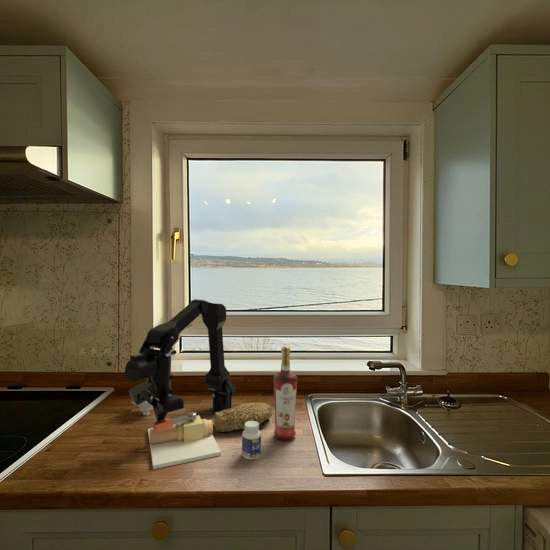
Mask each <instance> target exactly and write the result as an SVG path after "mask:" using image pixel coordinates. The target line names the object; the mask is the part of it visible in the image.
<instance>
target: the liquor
mask: <svg viewBox="0 0 550 550" xmlns="http://www.w3.org/2000/svg"><path fill="white" fill-rule="evenodd" d="M280 350H281V365H280V366H281V367H280V371H279V372H276V373H275V374H274V375H273V395H274V396H273V398H274V422H275V423H274V424H275V426H274V431H273V434H274V436H276V437H277V438H278V439H279V440H281V441H290V440H291V439H292V438H294V437H295V436H296V435H297V432H296V430H295V427H296V425H295V423H296V422H295V421H296V404H297V403H296V401H297V389H298V388H297V387H298V386H297V385H298V376H297V375H296V373H294V372H292V371H291V363H290V355H291V347H290V346H287V345H285V346H281V348H280Z"/></svg>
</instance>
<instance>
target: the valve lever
mask: <svg viewBox="0 0 550 550" xmlns="http://www.w3.org/2000/svg"><path fill="white" fill-rule="evenodd" d="M196 416H197V412H196V411H189V412H187V414H185V415H181V416H178V417H174V418H172V417H165V418H164V419H163V420H159V421H157V420H156V421H153V422H152V428H153V429H154V430H155V431H156V432H157V431H161V430H164V429H167V428H171V427H173V425H175V424H177V423H181V422H184V421H187V420H189V421H193V420H196Z"/></svg>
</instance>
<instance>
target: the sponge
mask: <svg viewBox="0 0 550 550" xmlns="http://www.w3.org/2000/svg"><path fill="white" fill-rule="evenodd" d="M231 408H232V407H231ZM231 408H228V409H225V410H222V411H220V412H215V413H214V420H213V424H214V425H213V427H214V428H215V431H216V432H218V433H224V432H226V433H227V432H233V431H239V430H245V423H246V422H248V421H256V422H258V423H259V425H261V424H262V423H264V422H265V421H267V420H269V419H270V418H271V417H272V416H273V413H274V408H273V406H272V405H270V404H267V403H265V402H247V403H245V402H244V403H241V404H239V405H236V406H235V407H233V408H232V409H231Z"/></svg>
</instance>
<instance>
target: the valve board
mask: <svg viewBox="0 0 550 550" xmlns="http://www.w3.org/2000/svg"><path fill="white" fill-rule="evenodd" d="M213 424H214V423H213V420H212V419H206V418H201V416H200V415H199V414H198V415H196V420H193V421H189V420H187V421H184V422H180V423H177V424H173V427H171V428H167V429H164V430H161V431H157V432H156V431H155V430H154V429H153V427H150V428H148V429H147V433H148V434H147V435H148V440H149V441H148V442H149V447H150V455H151V462H152V463H151V464H152V470H156V469H161V468H166V467H170V466H171V467H172V466H177V465H180V464H181V465H182V464H186V463H190V462H195V461H200V460H205V459H209V458H213V457H214V458H215V457H220V456H222V451H221V449H220V447H219V445H218V443H217V441H216V439H215V437H214V435H213V432H214V425H213Z"/></svg>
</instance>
